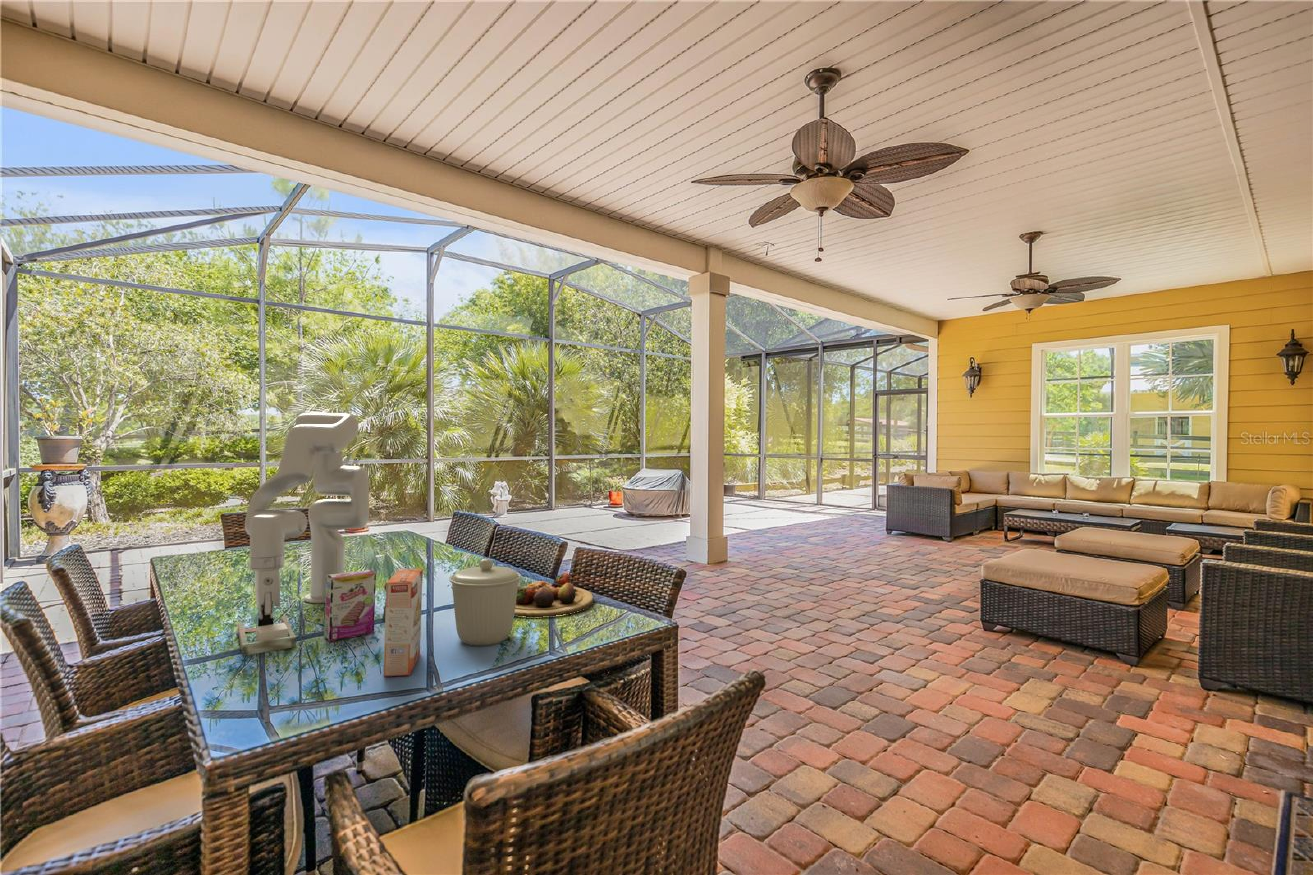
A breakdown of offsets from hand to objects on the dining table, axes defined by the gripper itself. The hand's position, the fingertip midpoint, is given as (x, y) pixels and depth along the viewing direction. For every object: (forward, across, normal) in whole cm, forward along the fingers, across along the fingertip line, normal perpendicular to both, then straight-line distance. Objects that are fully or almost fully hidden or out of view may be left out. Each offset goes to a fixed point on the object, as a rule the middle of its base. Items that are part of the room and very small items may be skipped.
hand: (265, 633), depth 157 cm
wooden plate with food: (+2, -9, -74) cm, 74 cm away
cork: (+1, 0, -31) cm, 31 cm away
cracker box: (+1, -38, -24) cm, 45 cm away
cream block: (+1, -5, -1) cm, 5 cm away
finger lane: (+1, 0, 0) cm, 1 cm away
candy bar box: (+1, -10, -18) cm, 20 cm away
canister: (+1, -31, -46) cm, 56 cm away
